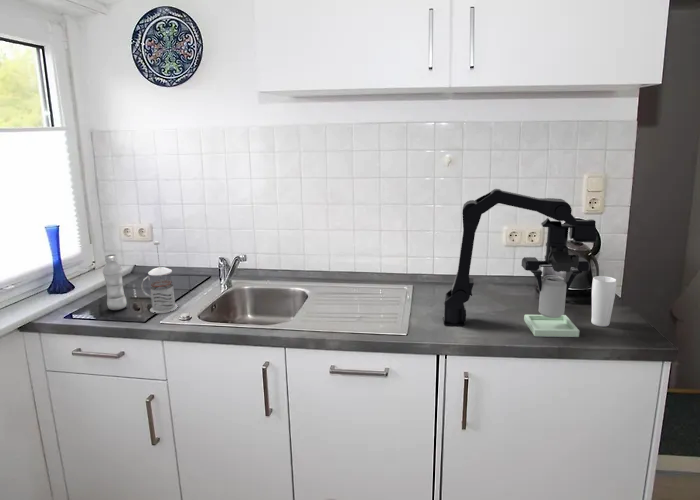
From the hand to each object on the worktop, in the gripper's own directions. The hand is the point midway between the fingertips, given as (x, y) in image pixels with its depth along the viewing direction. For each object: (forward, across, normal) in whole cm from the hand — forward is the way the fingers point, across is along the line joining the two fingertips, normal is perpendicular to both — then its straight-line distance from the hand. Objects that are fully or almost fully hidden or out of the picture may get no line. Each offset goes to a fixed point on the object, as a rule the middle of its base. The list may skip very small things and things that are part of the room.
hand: (552, 291), depth 159 cm
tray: (+12, 0, 0) cm, 12 cm away
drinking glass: (+12, +17, +4) cm, 21 cm away
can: (+8, 0, 0) cm, 8 cm away
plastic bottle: (+13, -148, +13) cm, 149 cm away
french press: (+13, -132, +14) cm, 134 cm away
